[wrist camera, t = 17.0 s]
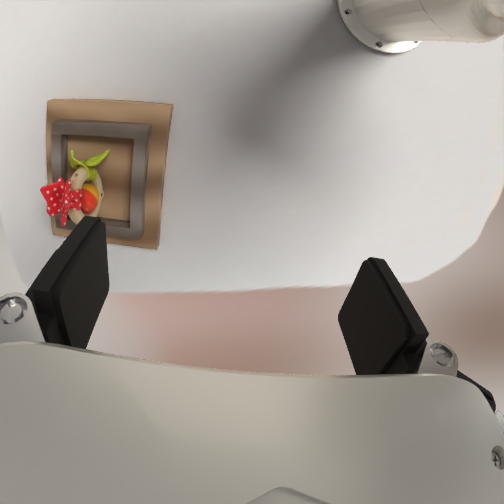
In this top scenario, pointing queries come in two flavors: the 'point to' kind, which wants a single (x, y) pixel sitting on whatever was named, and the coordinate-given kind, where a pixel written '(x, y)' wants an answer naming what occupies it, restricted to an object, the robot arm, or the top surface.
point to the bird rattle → (76, 191)
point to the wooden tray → (114, 161)
